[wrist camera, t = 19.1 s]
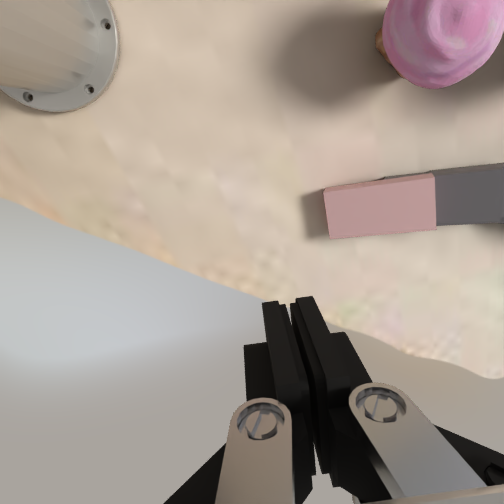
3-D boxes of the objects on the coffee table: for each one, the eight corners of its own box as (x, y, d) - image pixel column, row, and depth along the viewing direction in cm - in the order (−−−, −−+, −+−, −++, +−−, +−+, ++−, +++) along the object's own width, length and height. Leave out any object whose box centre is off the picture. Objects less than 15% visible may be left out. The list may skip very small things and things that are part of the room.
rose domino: (329, 239, 38) (436, 229, 34) (323, 192, 36) (434, 177, 32) (332, 232, 39) (433, 222, 36) (325, 187, 38) (431, 172, 34)
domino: (386, 228, 37) (500, 222, 34) (384, 180, 36) (503, 168, 32) (386, 222, 39) (495, 216, 35) (384, 176, 37) (498, 165, 34)
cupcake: (338, 48, 33) (381, 18, 24) (406, -40, 31) (482, -110, 22) (403, 112, 35) (465, 108, 26) (470, 35, 33) (564, 0, 24)
